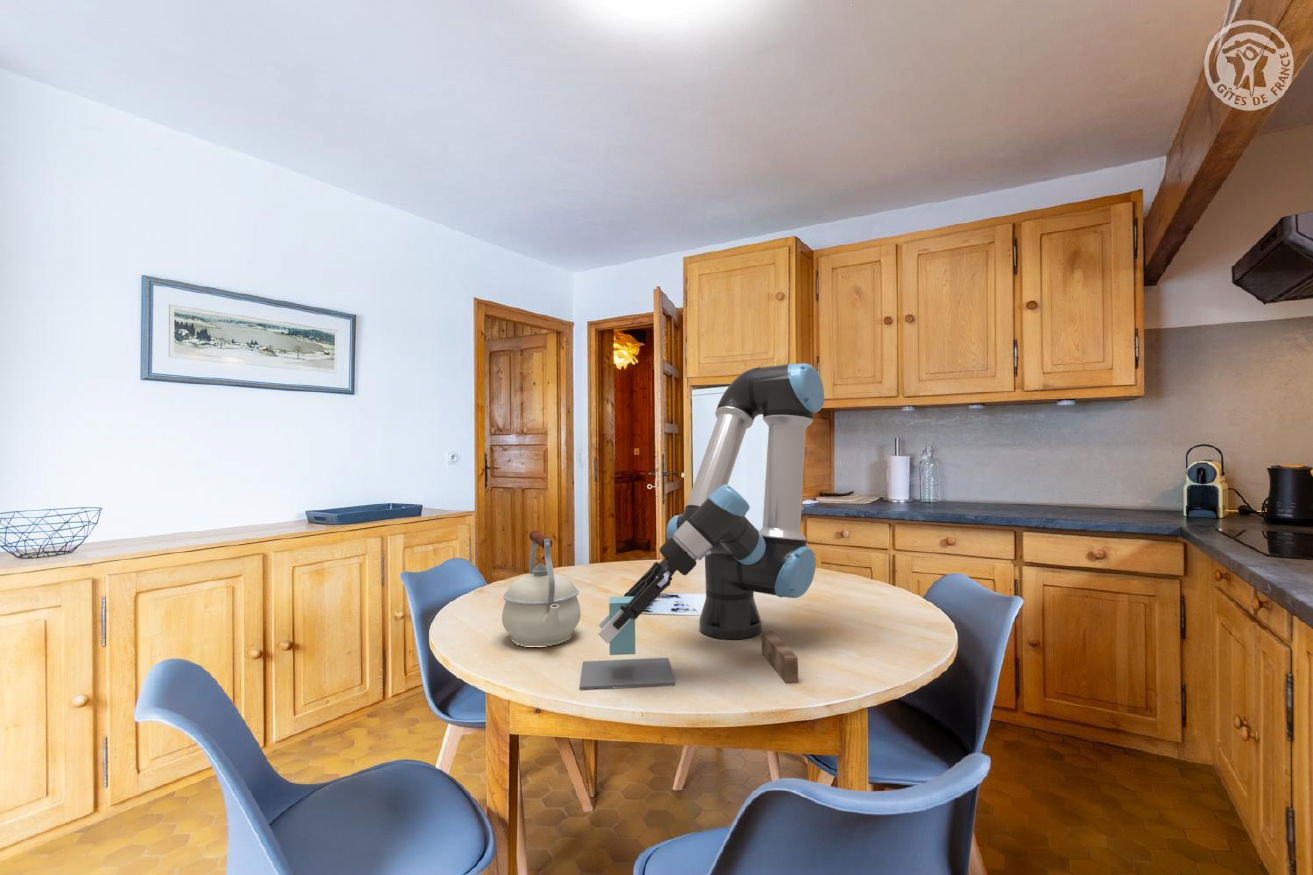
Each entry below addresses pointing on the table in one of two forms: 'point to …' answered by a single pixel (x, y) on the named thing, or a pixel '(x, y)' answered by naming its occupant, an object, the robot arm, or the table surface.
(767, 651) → the rail
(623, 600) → the block
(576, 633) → the table surface
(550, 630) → the kettle
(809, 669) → the table surface
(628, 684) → the mat
